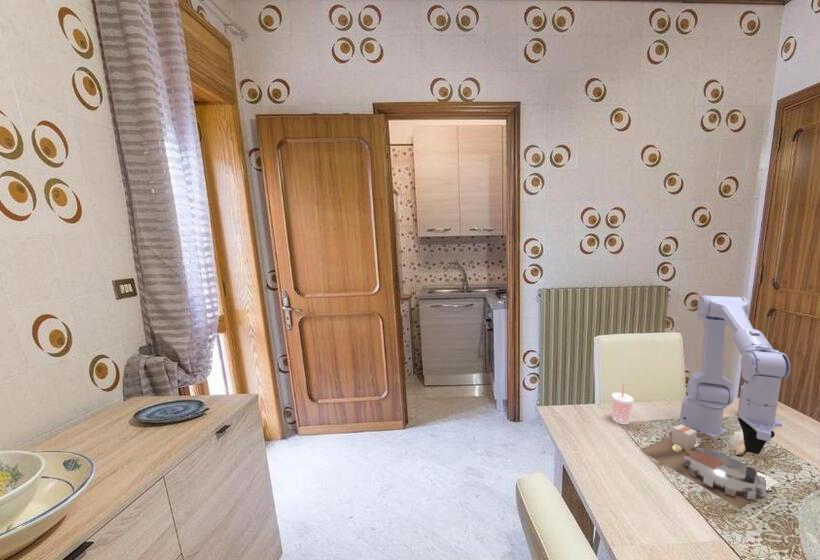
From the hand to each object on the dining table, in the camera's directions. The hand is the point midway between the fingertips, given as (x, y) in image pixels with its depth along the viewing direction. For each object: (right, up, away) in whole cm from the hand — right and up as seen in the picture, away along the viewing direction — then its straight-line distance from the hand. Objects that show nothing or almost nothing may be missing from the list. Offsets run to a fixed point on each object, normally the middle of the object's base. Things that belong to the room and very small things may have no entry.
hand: (751, 451), depth 78 cm
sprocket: (-3, -9, +5) cm, 11 cm away
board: (-4, -9, +9) cm, 13 cm away
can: (+31, -5, +29) cm, 43 cm away
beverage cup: (-13, -6, +30) cm, 33 cm away
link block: (-3, -7, +16) cm, 18 cm away
